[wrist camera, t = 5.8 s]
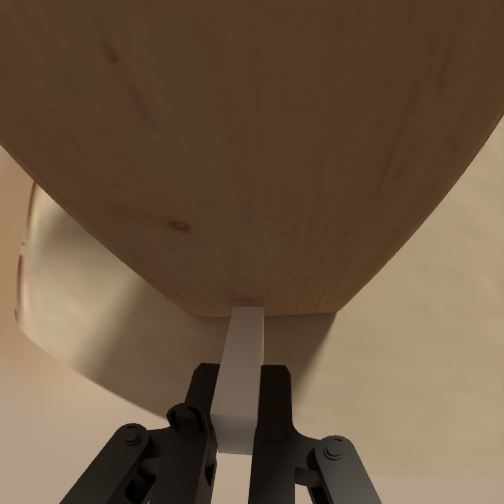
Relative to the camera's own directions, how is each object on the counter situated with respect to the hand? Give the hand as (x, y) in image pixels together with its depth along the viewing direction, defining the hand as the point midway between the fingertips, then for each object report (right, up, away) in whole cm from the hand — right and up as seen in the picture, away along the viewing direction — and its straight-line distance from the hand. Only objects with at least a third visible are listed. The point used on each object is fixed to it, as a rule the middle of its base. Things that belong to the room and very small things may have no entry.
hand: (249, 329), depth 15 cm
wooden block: (+1, +4, +7) cm, 8 cm away
